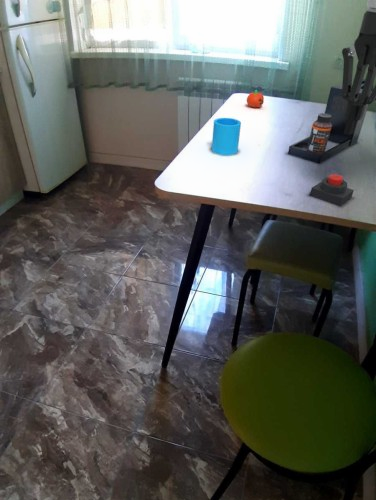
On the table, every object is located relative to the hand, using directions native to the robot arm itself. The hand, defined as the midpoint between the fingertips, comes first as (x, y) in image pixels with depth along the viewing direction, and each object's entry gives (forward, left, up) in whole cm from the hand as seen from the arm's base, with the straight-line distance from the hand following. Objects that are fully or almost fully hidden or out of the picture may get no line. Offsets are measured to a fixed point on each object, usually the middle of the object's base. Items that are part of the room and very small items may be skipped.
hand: (348, 133), depth 100 cm
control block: (0, 0, -16) cm, 16 cm away
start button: (0, 0, -13) cm, 13 cm away
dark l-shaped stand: (+19, -34, -16) cm, 42 cm away
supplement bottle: (+19, -28, -16) cm, 38 cm away
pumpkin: (+63, -58, -16) cm, 87 cm away
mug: (+42, -9, -16) cm, 46 cm away
